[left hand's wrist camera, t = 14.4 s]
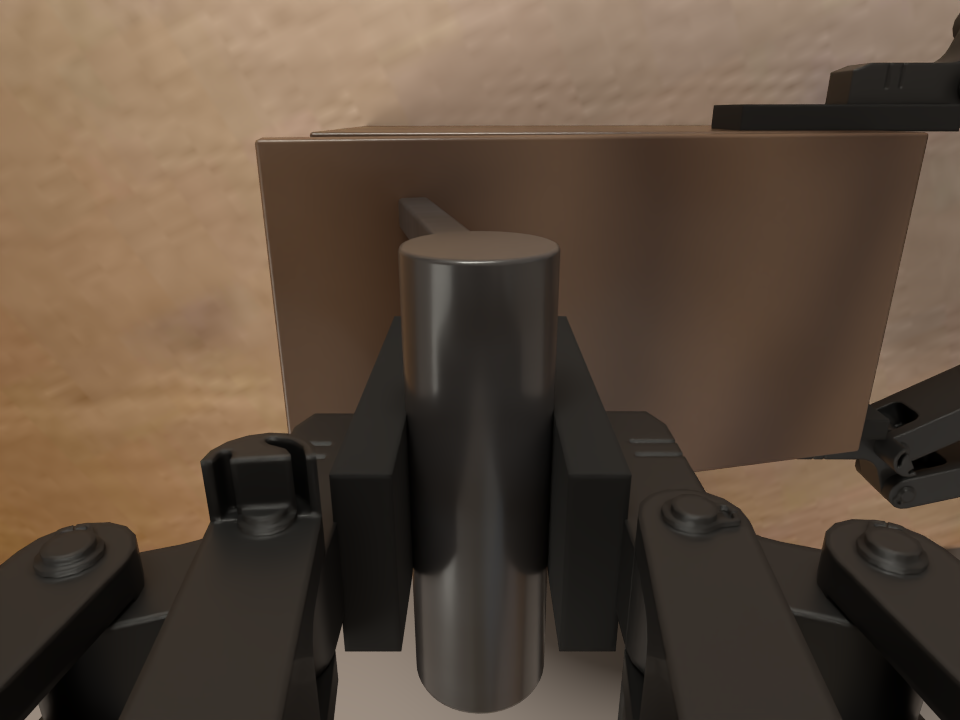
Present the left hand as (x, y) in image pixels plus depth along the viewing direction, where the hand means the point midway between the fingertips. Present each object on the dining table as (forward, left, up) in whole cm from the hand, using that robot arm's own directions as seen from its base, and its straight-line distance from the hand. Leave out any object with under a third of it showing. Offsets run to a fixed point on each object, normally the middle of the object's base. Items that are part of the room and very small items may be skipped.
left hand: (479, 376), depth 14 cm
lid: (+3, 0, -5) cm, 6 cm away
